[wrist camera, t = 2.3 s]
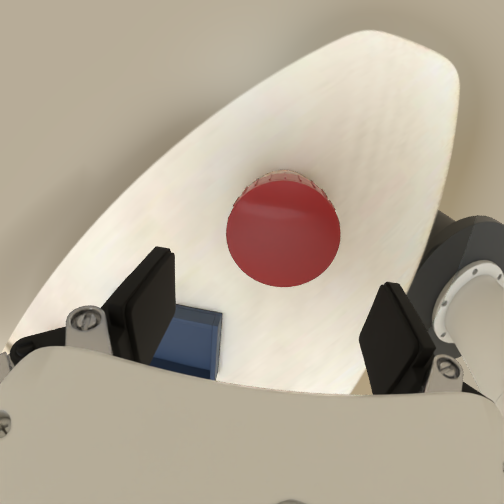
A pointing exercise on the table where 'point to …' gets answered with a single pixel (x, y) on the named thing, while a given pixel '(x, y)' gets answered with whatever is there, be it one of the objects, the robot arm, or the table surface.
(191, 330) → the tray
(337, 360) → the table surface
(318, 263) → the lid
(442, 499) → the robot arm
